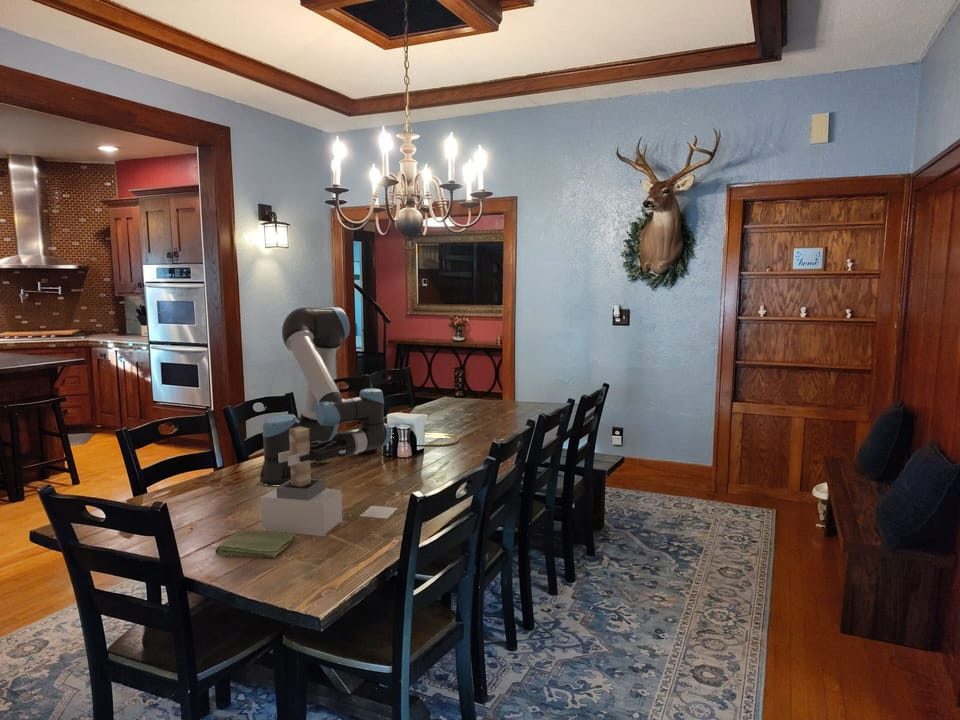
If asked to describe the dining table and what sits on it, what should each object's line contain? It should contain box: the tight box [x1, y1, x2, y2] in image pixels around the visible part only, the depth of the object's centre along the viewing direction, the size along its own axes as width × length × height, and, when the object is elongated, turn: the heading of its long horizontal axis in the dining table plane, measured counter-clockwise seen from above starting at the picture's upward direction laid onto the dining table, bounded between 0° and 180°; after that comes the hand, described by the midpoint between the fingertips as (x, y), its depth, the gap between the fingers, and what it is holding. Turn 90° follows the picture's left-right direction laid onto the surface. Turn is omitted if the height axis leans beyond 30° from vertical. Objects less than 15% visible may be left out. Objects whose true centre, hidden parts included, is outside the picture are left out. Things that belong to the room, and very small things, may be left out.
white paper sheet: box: [359, 505, 399, 520], centre depth 193 cm, size 9×9×1 cm
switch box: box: [260, 478, 343, 537], centre depth 183 cm, size 20×11×13 cm, turn 76°
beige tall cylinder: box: [289, 426, 312, 489], centre depth 181 cm, size 4×4×18 cm
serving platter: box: [424, 433, 460, 447], centre depth 283 cm, size 19×35×2 cm, turn 84°
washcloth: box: [214, 529, 296, 559], centre depth 169 cm, size 13×18×3 cm
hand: (284, 459), depth 177 cm, fingers closed on beige tall cylinder, 4 cm apart
